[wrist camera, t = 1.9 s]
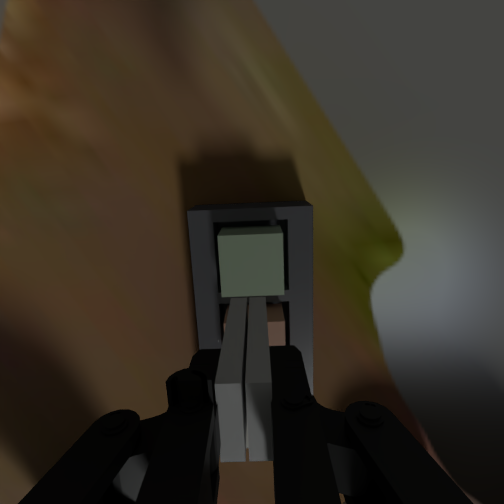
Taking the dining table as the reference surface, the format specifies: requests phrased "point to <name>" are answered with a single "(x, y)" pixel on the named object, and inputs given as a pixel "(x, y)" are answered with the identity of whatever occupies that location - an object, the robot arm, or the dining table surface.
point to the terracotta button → (272, 323)
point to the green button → (251, 261)
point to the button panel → (293, 301)
